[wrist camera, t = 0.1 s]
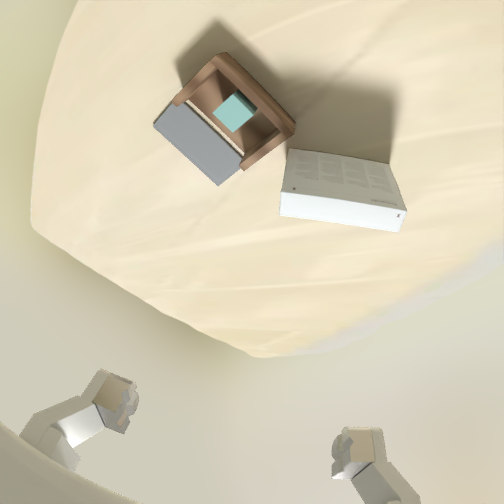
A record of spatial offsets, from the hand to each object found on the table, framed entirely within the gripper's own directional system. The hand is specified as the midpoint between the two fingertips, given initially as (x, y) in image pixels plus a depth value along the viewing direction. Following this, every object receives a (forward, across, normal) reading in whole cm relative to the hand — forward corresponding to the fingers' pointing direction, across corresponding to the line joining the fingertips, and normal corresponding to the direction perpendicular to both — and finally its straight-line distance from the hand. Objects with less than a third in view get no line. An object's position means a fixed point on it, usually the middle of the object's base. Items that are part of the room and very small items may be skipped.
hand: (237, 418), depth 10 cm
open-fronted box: (+51, +11, -12) cm, 53 cm away
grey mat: (+54, +19, -3) cm, 57 cm away
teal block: (+50, +11, -12) cm, 52 cm away
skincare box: (+54, -10, -3) cm, 55 cm away
